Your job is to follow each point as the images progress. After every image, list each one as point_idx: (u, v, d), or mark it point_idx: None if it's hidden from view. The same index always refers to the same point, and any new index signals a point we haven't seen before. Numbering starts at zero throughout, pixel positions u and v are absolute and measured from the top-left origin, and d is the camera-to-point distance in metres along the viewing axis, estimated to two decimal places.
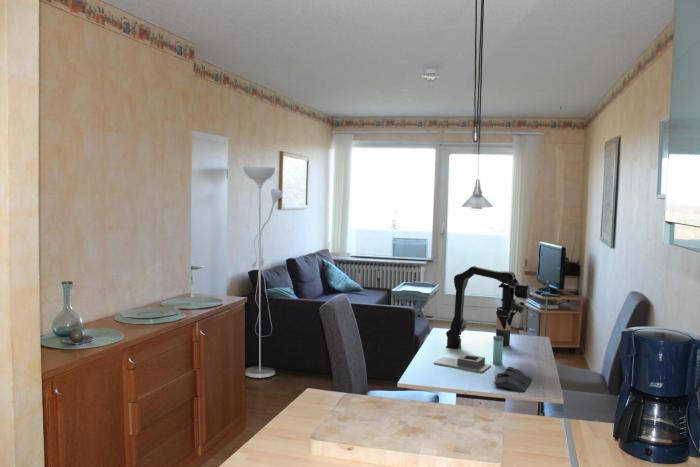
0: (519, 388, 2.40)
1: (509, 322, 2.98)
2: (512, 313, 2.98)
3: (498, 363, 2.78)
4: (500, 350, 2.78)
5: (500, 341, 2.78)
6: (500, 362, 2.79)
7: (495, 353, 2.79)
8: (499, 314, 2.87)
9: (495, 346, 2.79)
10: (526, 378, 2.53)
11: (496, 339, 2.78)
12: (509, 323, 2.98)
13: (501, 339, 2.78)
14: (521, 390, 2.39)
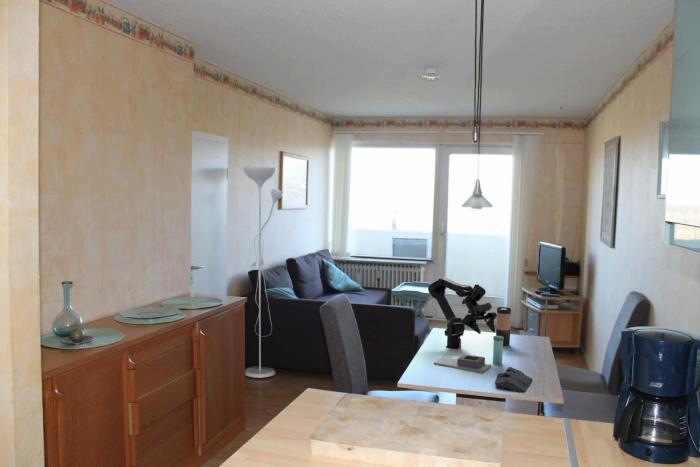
0: (519, 388, 2.40)
1: (492, 329, 2.90)
2: (490, 319, 2.92)
3: (498, 363, 2.78)
4: (500, 350, 2.78)
5: (500, 341, 2.78)
6: (500, 362, 2.79)
7: (495, 353, 2.79)
8: (464, 322, 2.87)
9: (495, 346, 2.79)
10: (526, 378, 2.53)
11: (496, 339, 2.78)
12: (492, 330, 2.89)
13: (501, 339, 2.78)
14: (521, 390, 2.39)
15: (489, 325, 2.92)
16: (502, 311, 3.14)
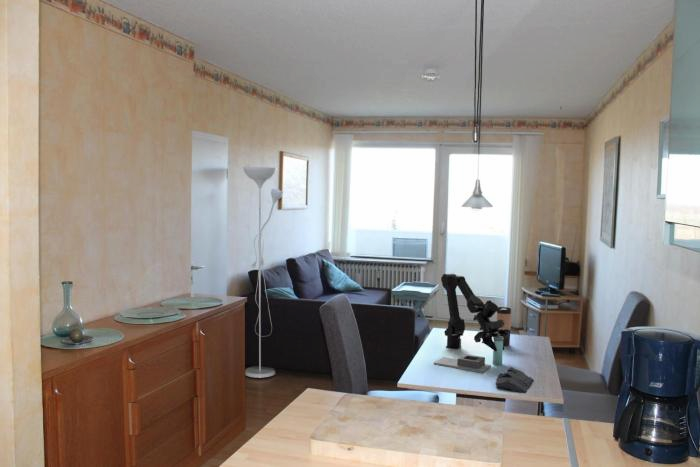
0: (520, 389, 2.39)
1: None
2: None
3: (498, 363, 2.78)
4: (500, 350, 2.78)
5: (500, 341, 2.78)
6: (500, 362, 2.79)
7: (495, 353, 2.79)
8: (476, 339, 2.80)
9: None
10: (527, 378, 2.52)
11: (496, 339, 2.78)
12: None
13: (501, 339, 2.78)
14: (522, 391, 2.39)
15: None
16: (502, 311, 3.14)
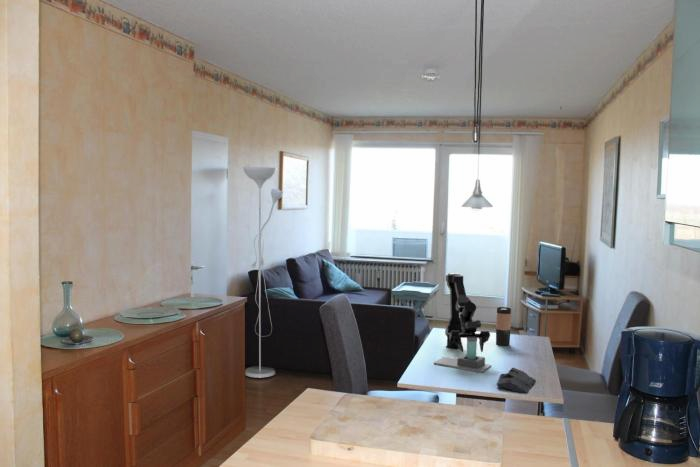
0: (521, 389, 2.39)
1: (481, 348, 2.75)
2: (481, 338, 2.77)
3: None
4: (471, 351, 2.72)
5: (471, 342, 2.72)
6: None
7: (467, 353, 2.74)
8: (449, 338, 2.79)
9: (467, 346, 2.74)
10: (529, 379, 2.52)
11: (468, 339, 2.73)
12: (481, 349, 2.74)
13: (472, 340, 2.72)
14: (523, 391, 2.38)
15: (480, 344, 2.77)
16: (502, 311, 3.14)
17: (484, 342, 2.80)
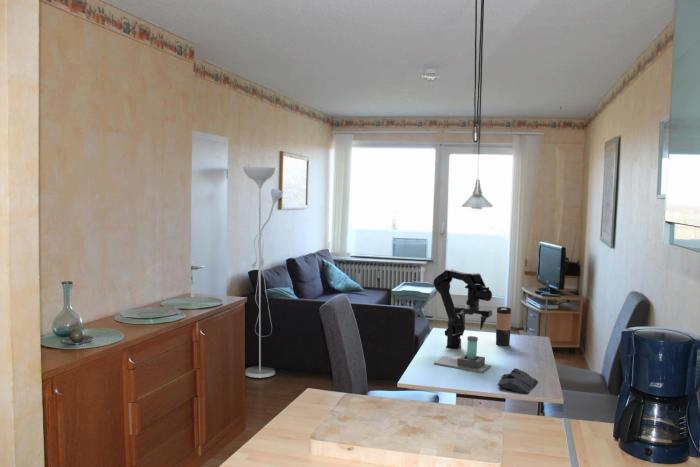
0: (522, 390, 2.38)
1: None
2: None
3: None
4: (472, 351, 2.72)
5: (472, 342, 2.72)
6: None
7: (467, 353, 2.74)
8: None
9: (467, 346, 2.74)
10: (531, 379, 2.51)
11: (468, 339, 2.73)
12: None
13: (473, 340, 2.72)
14: (524, 392, 2.37)
15: None
16: (502, 311, 3.14)
17: None
